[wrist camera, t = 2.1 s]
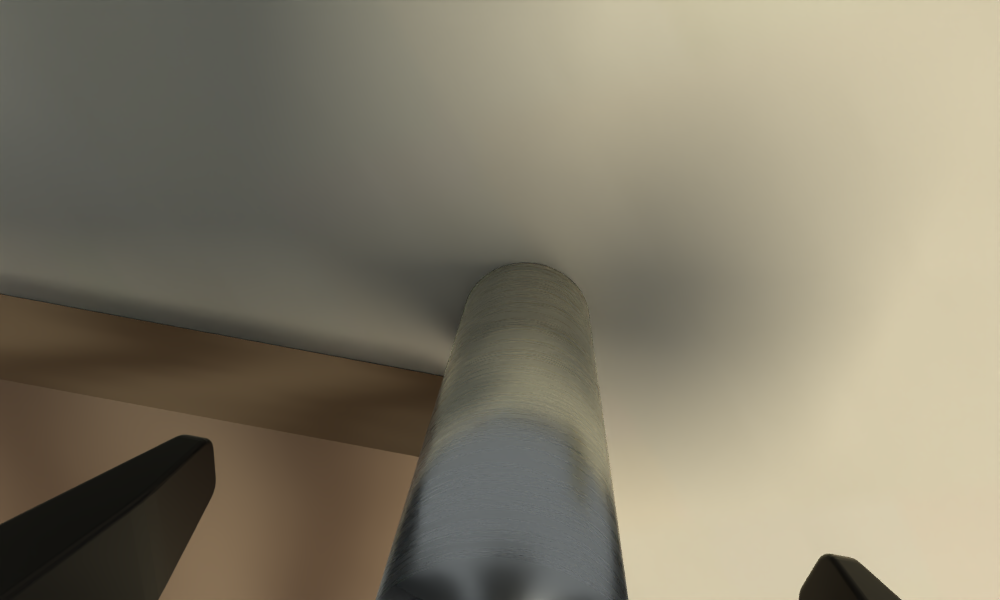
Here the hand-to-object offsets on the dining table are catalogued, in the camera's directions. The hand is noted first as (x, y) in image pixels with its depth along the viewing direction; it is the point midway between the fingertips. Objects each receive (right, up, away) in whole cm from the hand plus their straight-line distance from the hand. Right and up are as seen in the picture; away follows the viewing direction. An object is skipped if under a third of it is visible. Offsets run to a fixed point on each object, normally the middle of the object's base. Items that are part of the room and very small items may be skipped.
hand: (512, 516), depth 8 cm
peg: (0, +3, +5) cm, 6 cm away
